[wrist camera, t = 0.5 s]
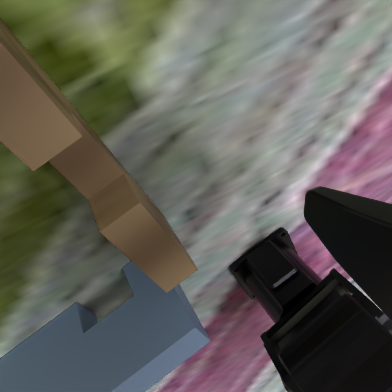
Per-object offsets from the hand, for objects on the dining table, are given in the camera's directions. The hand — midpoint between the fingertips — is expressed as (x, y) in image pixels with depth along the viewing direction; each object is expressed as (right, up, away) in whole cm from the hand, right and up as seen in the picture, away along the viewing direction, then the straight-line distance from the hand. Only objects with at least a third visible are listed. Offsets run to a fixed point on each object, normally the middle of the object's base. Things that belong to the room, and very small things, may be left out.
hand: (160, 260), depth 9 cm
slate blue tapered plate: (-12, -10, +18) cm, 24 cm away
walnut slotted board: (-6, +5, +11) cm, 14 cm away
